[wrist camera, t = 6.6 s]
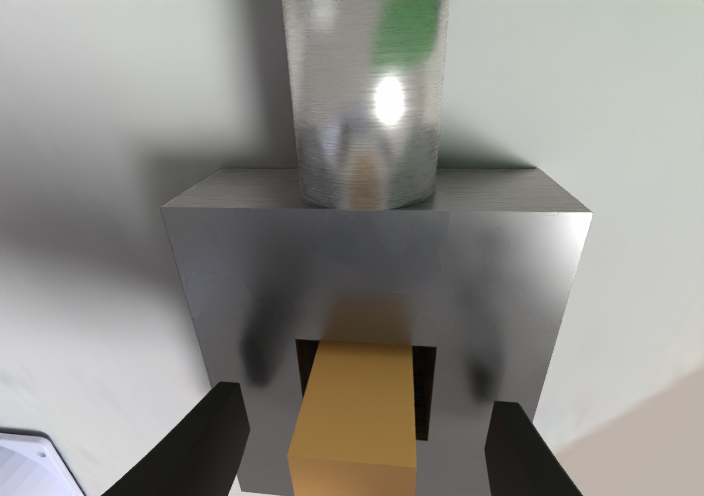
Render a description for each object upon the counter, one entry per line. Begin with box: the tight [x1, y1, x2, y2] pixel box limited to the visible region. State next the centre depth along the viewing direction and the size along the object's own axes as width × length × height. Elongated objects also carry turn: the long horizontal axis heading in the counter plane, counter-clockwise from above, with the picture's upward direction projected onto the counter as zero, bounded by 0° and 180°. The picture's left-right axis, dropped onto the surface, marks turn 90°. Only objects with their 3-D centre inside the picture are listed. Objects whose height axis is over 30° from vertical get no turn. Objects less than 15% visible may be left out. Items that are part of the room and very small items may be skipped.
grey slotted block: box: [160, 0, 593, 496], centre depth 12 cm, size 17×11×4 cm, turn 2°
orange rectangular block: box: [287, 340, 417, 496], centre depth 11 cm, size 3×3×6 cm
